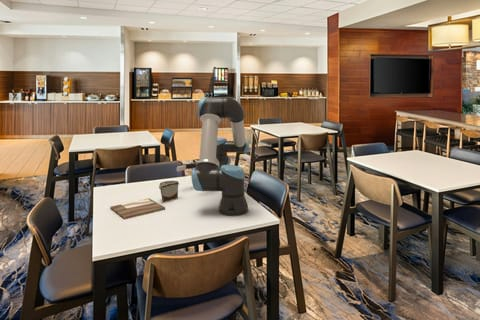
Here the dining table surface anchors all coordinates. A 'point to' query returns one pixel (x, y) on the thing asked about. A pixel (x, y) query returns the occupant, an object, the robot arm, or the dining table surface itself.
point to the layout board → (137, 208)
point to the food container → (169, 190)
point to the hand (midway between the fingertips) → (184, 171)
